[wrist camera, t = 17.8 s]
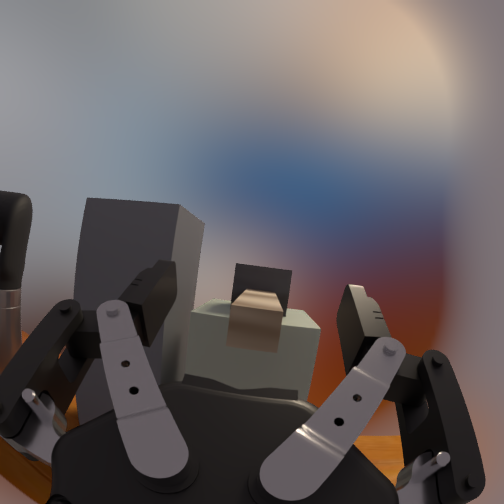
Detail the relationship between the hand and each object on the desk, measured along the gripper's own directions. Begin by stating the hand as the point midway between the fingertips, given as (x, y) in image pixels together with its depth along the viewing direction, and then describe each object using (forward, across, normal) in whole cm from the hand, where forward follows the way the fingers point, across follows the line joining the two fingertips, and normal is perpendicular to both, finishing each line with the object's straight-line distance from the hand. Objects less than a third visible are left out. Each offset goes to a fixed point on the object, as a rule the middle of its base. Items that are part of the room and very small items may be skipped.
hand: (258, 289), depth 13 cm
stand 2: (+3, 0, +31) cm, 32 cm away
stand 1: (+4, +15, +32) cm, 36 cm away
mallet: (+9, 0, +10) cm, 14 cm away
